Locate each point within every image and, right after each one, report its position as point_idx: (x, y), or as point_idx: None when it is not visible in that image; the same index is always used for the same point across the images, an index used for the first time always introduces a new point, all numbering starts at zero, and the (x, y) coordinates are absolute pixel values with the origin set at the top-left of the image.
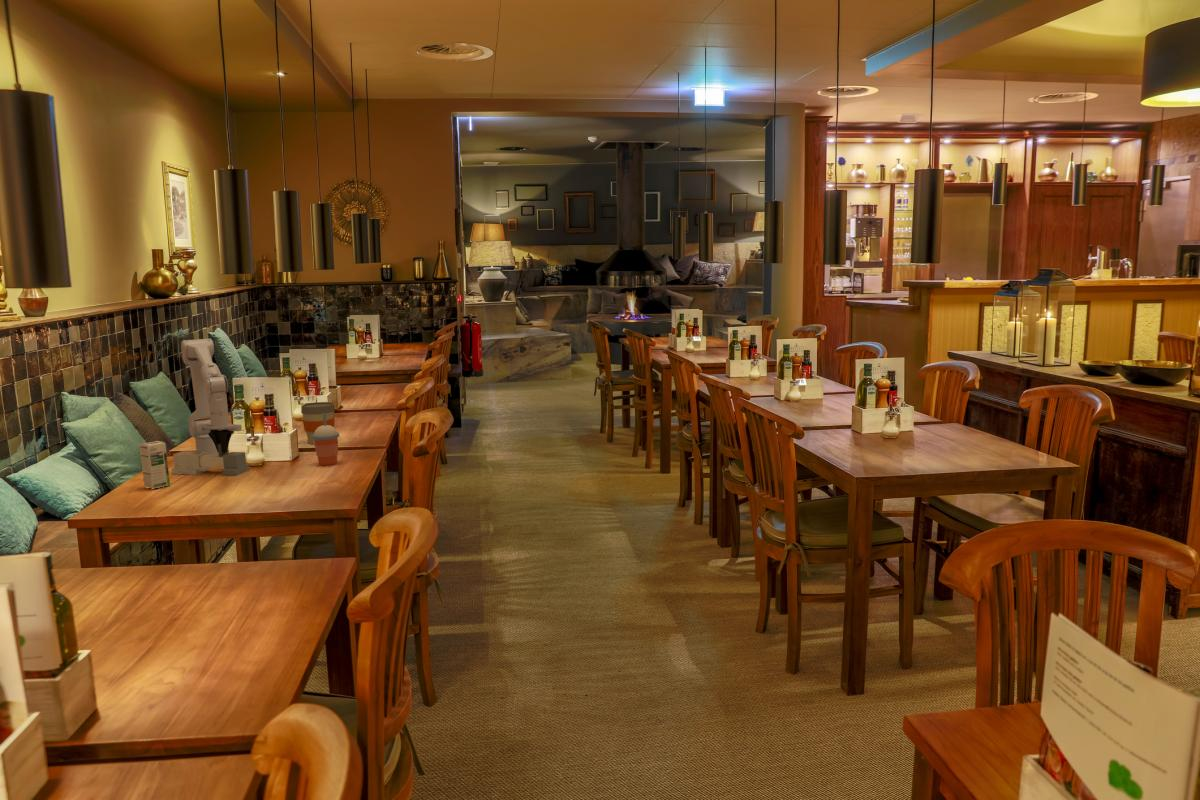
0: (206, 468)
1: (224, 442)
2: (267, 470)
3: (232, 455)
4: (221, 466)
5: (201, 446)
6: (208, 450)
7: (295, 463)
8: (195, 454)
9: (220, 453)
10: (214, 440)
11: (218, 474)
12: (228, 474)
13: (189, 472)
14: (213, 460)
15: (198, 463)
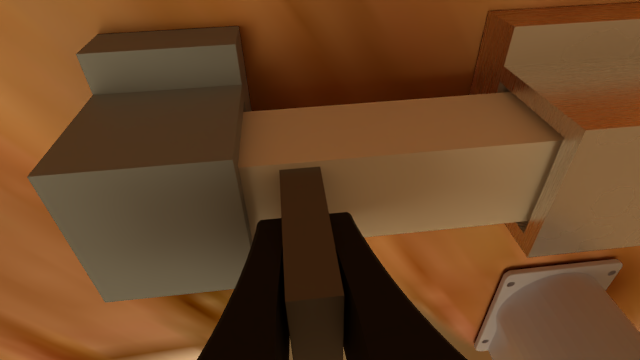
0: None
1: (215, 336)
2: (10, 213)
3: (88, 170)
4: (287, 110)
5: (621, 355)
6: (561, 339)
7: (23, 343)
8: (612, 141)
9: (296, 195)
10: (399, 339)
11: (299, 54)
12: (172, 33)
13: (564, 12)
14: (377, 134)
15: (524, 90)
